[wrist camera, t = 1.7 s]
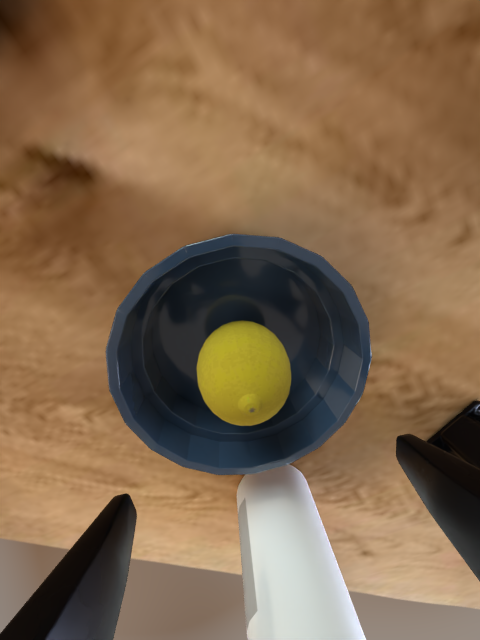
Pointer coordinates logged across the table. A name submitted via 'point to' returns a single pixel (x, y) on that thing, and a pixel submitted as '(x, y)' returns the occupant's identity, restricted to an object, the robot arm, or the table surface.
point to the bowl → (224, 307)
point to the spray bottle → (289, 563)
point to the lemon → (243, 373)
